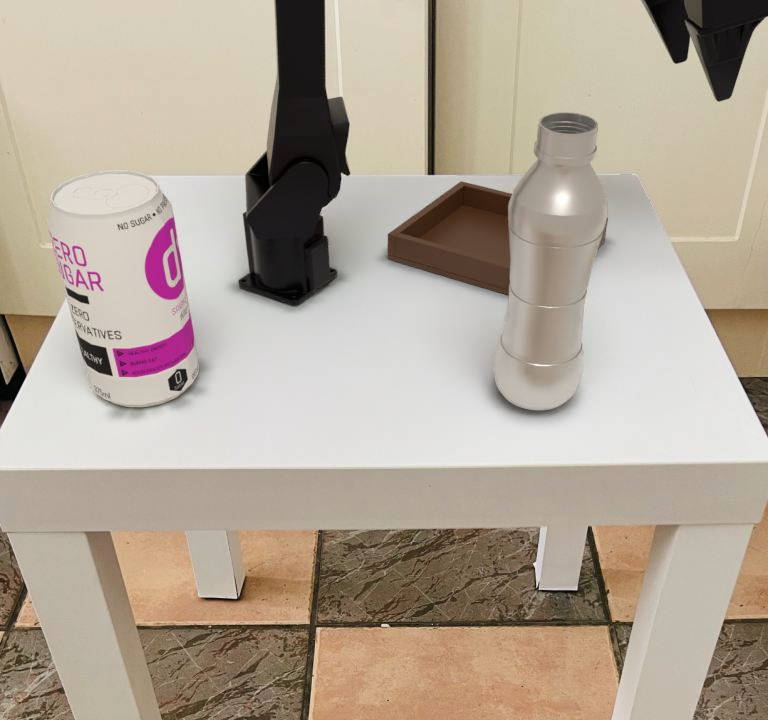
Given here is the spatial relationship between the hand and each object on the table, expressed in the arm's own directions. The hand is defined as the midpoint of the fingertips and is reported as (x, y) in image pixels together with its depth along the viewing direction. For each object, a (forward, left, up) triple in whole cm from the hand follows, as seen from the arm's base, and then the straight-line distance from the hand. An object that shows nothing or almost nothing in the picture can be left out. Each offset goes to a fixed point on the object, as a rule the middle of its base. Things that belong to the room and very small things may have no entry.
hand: (700, 79), depth 74 cm
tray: (-13, -7, -15) cm, 22 cm away
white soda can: (-26, -40, -16) cm, 51 cm away
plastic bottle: (0, -26, -16) cm, 30 cm away
